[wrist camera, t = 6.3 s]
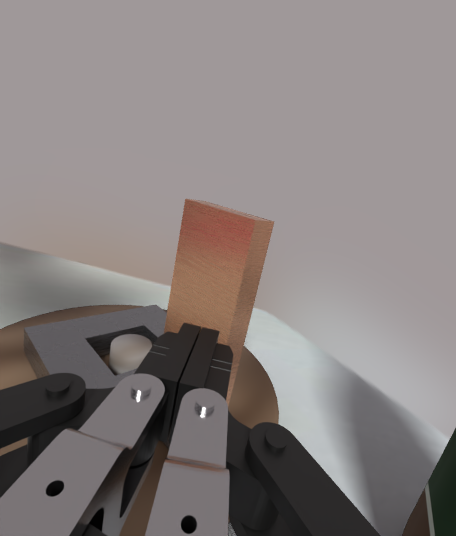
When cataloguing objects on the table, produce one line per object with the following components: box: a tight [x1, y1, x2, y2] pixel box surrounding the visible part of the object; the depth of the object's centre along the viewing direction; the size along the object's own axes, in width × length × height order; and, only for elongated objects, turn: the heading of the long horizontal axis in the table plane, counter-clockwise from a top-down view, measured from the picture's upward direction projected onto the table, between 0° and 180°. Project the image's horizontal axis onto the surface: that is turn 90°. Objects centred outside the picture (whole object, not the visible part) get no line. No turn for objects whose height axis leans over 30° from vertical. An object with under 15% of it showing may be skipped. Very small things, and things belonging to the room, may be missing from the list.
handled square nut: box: [24, 199, 274, 450], centre depth 20 cm, size 17×11×14 cm
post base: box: [0, 305, 279, 536], centre depth 23 cm, size 24×24×6 cm
